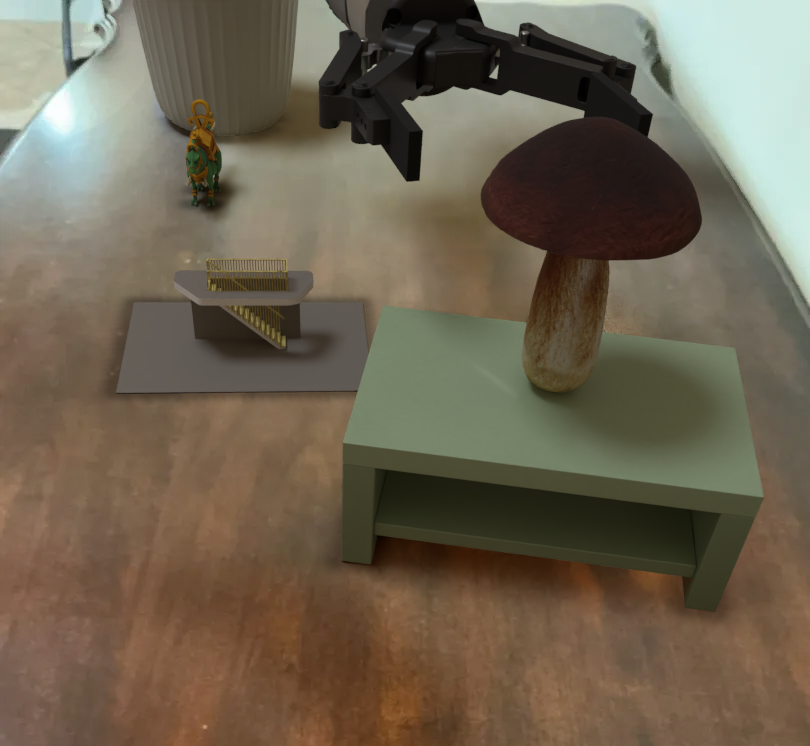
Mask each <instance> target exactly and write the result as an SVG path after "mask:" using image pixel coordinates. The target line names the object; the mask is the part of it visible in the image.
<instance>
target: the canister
mask: <svg viewBox="0 0 810 746" xmlns="http://www.w3.org/2000/svg"><path fill="white" fill-rule="evenodd" d="M131 2H132V6H133V9H134V13H135V19H136V23H137V27H138V28H137V29H138V32H139V37H140V41H141V45H142V49H143V54H144V58H145V62H146V65H147V69H148V74H149V77H150V81H151V86H152V88H153V92H154V96H155V98H156V101H157V104H158V106H159V108H160V109H161V111H162V113H163V114H164V116H165V117H166V118H167V119H168V120H169V121H170V122H172V123H173V124H174V125H176V126H178V127H179V128H181V129H185V130H186V131H188V132H192V131H193V129H194V127H195V123H194V124H192V125H190V124H189V122H188V120H187V119H188V118H190V117H192V116H194V115H193V113H192V111H191V105H192V103H193V102H194V101H195V100H198V99H201V100H204V101H205V102H207V103H208V105H209V106H210V110H211V111H210V112H212V113H213V114H214V120H215V121H214V122H215V130H214V133H215V134H214V136H218V137H231V136H232V137H233V136H242V135H244V136H245V135H247V134H254V133H255V132H256V133H257V132H261V131H262V130H265V129H268V128H269V127H271V126H274V124H276V123H277V122H279V120H280V119H281V118H282V117H283V115H284V113H285V111H286V110H287V106H288V103H289V100H290V95H291V88H292V79H293V70H294V69H293V68H294V62H295V61H294V60H295V59H294V58H295V49H296V36H297V27H298V26H297V24H298V12H299V0H131ZM195 111H196V115H199V114H203V115H206V108H205V106H204V105H202V104H197V105H196V107H195ZM171 120H172V121H171ZM199 120H200V122H201V124H202V123H203V120H204V119H201V118H199ZM191 121H192V122H194V121H193V120H191Z"/></svg>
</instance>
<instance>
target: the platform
mask: <svg viewBox="0 0 810 746" xmlns="http://www.w3.org/2000/svg"><path fill="white" fill-rule="evenodd" d="M226 261H227V262H226ZM237 261H238V262H237ZM259 261H260V262H259ZM267 261H270V262H271V264H270V262H267ZM278 261H279V262H281V265H282V266H281V265H279V263H278ZM218 262H219V266H218ZM229 262H230V263H229ZM240 263H241V264H240ZM288 263H289V262H288V258H206V260H205V265H206V270H200V269H197V270H196V269H194V270H191V269H190V270H189V269H188V270H186V269H185V270H184V269H181V270H177V271H175V273H174V275H173V276H174V277H173V284H174V289H175V290H176V291H178V292H179V293H180V294H182V295H184V296H185V297H187V298H188V299H189V300H190V301H180V302H179V301H178V302H177V301H173V302H172V301H170V302H169V301H163V302H161V301H134V302H133V305H132V309H131V316H130V320H129V325H128V330H127V335H126V340H125V345H124V350H123V354H122V355H123V356H122V360H121V364H120V371H119V376H118V380H117V386H116V390H115V394H142V393H143V394H145V393H146V394H149V393H150V394H151V393H152V394H154V393H155V394H156V393H159V394H160V393H240V392H241V393H247V392H250V393H253V392H254V393H255V392H259V393H263V392H352V391H354V392H358V389H359V385H360V382H361V378H362V375H363V371H364V368H365V365H366V361H367V358H368V354H369V345H368V337H367V336H368V335H367V328H366V321H365V311H364V302H363V301H357V302H356V301H353V302H351V301H343V302H342V301H338V302H337V301H336V302H335V301H323V302H322V301H316V302H315V301H313V302H311V301H303V300H304V299H305V297H306V296H308V294H309V293H310V292H311V291H312V290H313V289H314V273H313V272H312V271H311V270H289V264H288ZM229 264H230V266H229ZM260 264H262V265H260ZM210 265H211V267H210ZM232 265H233V267H232ZM240 265H241V266H240ZM251 265H252V267H254V268H255V269H254V268H252V267H251ZM221 266H222V267H221ZM262 266H263V267H262ZM271 266H273V268H271ZM281 267H282V268H281ZM213 268H214V269H213ZM232 268H233V269H232ZM243 268H244V269H243ZM262 268H263V269H265V270H263V269H262ZM273 269H274V270H273ZM281 269H285V270H281Z"/></svg>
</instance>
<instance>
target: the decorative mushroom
mask: <svg viewBox="0 0 810 746" xmlns="http://www.w3.org/2000/svg"><path fill="white" fill-rule="evenodd" d="M480 205H481V207H482V210H483V212H484V214H485V216H486V217H487V219H488V220H489V222H490V224H492V225H494V226H495V227H497V229H498V230H500V231H502V232H503V233H505V234H506V235H508V236H510V237H511V238H513V239H515V240H516V241H519V242H520V243H523V244H524V245H525V244H526V245H528V246H531V247H533V248H536V249H539V250H542V251H546V252H545V255H544V259H543V261H542V265H541V267H540V270H539V273H538V275H537V278H536V282H535V287H534V289H533V293H532V297H531V300H530V301H531V302H530V306H529V309H528V315H527V318H526V328H525V334H524V339H523V346H522V363H523V369H524V372H525V374H526V377H527V378H528V380H529V381H531V383H533V384H535V385H536V386H538V387H540V388H542V389H544V390H547V391H551V392H561V393H564V392H567V391H571V390H573V389H575V388H578V387H579V386H581V385H582V384H583V383H585V382H586V381H587V379H588V378H589V377H590V376H591V374H592V372H593V369H594V367H595V365H596V361H597V358H598V353H599V348H600V343H601V337H602V332H604V325H605V318H606V311H607V304H608V299H609V298H608V296H609V286H610V273H611V271H610V270H611V269H610V261H646V260H653V259H654V260H656V259H660V258H664V257H668V256H672V255H674V254H676V253H679V252H680V251H682V250H683V249H684V248H686V247H687V246H688V245H690V243H691V242H692V241H694V239H695V238H696V237H697V235H698V234H699V232H700V231H701V227H702V225H703V217H702V215H703V214H702V211H701V206H700V201H699V198H698V194H697V191H696V188H695V186H694V184H693V182H692V180H691V178H690V177H689V175H688V174H687V172H686V171H685V170H684V169H683V167H682V166H681V165H680V164H679V163H678V162H677V161H676V160H675V159H674V158H673V157H672V156H671V155H670V154H669V153H668V152H666V150H665V149H663V148H662V147H661V146H660V145H659V144H658V143H657V142H655V141H654V140H653V139H651V138H649V136H648V137H646V136H645V135H643V134H642V133H640V132H638V131H637V130H635V129H633V128H631V127H630V126H628V125H626V124H624V123H622V122H620V121H618V120H615V119H611V118H607V117H584V116H583V117H579V118H574V119H569V120H566V121H562V122H560V123H558V124H555V125H552V126H551V127H548V128H546V129H544V130H542V131H540V132H538V133H537V134H535V135H533V136H532V137H530V138H528V139H527V140H525V141H524V142H522V143H521V144H520V145H518V146H516V147H515V148H513V149H512V150H511V151H509V152H508V153H507V154H505V155H504V156H503V157H502V158H501V159H500V160H498V162H497V164H496V165H495V166H494V168H493V169H492V170H491V172H490V174H489V176H488V177H487V178H486V180H485V182H484V183H483V185H482V187H481V189H480Z"/></svg>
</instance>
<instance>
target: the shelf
mask: <svg viewBox="0 0 810 746" xmlns="http://www.w3.org/2000/svg"><path fill="white" fill-rule="evenodd" d="M526 323H527V321H526V322H525V321H516V320H510V319H509V320H508V319H499V318H491V317H483V316H475V315H467V314H459V313H452V312H451V313H450V312H443V311H433V310H426V309H418V308H410V307H403V306H402V307H401V306H393V305H386V304H385V305H382V307H381V310H380V314H379V317H378V321H377V323H376V328H375V331H374V334H373V338H372V340H371V344H370V347H369V350H368V353H369V354H368V358H367V361H366V365H365V368H364V371H363V375H362V378H361V382H360V385H359V389H358V391H356V396H355V399H354V402H353V406H352V409H351V413H350V416H349V420H348V423H347V426H346V429H345V433H344V436H343V440H342V454H341V455H342V458H341V459H342V460H341V461H342V462H341V463H342V472H341V474H342V481H341V491H342V492H341V545H340V546H341V548H340V549H341V552H340V553H341V555H340V557H341V561H342V562H349V563H354V564H355V563H357V564H362V565H371V564H372V563H373V558H374V554H375V550H376V544H377V539H378V536H380V537H387V538H394V539H401V540H409V541H415V542H416V541H417V542H425V543H431V544H440V545H446V546H453V547H461V548H468V549H469V548H470V549H476V550H483V551H491V552H496V553H497V552H498V553H506V554H513V555H521V556H526V557H527V556H528V557H536V558H542V559H550V560H558V561H565V562H570V563H571V562H572V563H580V564H587V565H595V566H603V567H610V568H616V569H622V570H623V569H624V570H631V571H638V572H647V573H654V574H660V575H667V576H675V577H681V582H682V592H683V593H682V594H683V605H684V608H685V609H691V610H696V611H697V610H698V611H706V612H711V613H712V612H713V613H715V612H716V611H717V609H718V608H719V605H720V602H721V600H722V598H723V595H724V593H725V590H726V588H727V586H728V583H729V581H730V578H731V576H732V574H733V571H734V570H735V567H736V564H737V562H738V560H739V558H740V555H741V553H742V551H743V548H744V545H745V543H746V540H747V539H748V537H749V534H750V531H751V528H752V526H753V525H754V521H755V519H756V517H757V515H758V513H759V510H760V508H761V505H762V503H763V501H764V498H765V494H764V490H763V485H762V478H761V474H760V468H759V464H758V458H757V454H756V449H755V444H754V443H755V442H754V439H753V438H754V437H753V432H752V427H751V423H750V417H749V412H748V407H747V401H746V396H745V392H744V386H743V381H742V376H741V371H740V365H739V360H738V355H737V350H736V347H732V346H725V345H723V346H722V345H715V344H706V343H699V342H692V341H691V342H689V341H681V340H674V339H664V338H657V337H648V336H640V335H633V334H632V335H631V334H624V333H615V332H609V331H608V332H606V331H603V332H602V337H601V343H600V348H599V353H598V358H597V361H596V365H595V367H594V369H593V372H592V374H591V376H590V377H589V378H588V379H587V381H586V382H585V383H583V384H582V385H581V386H579V387H578V388H575V389H573V390H571V391H567V392H564V393H561V392H551V391H547V390H544V389H542V388H540V387H538V386H536V385H535V384H533V383H531V381H529V380H528V378H527V377H526V374H525V372H524V369H523V363H522V346H523V339H524V334H525V328H526Z"/></svg>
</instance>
